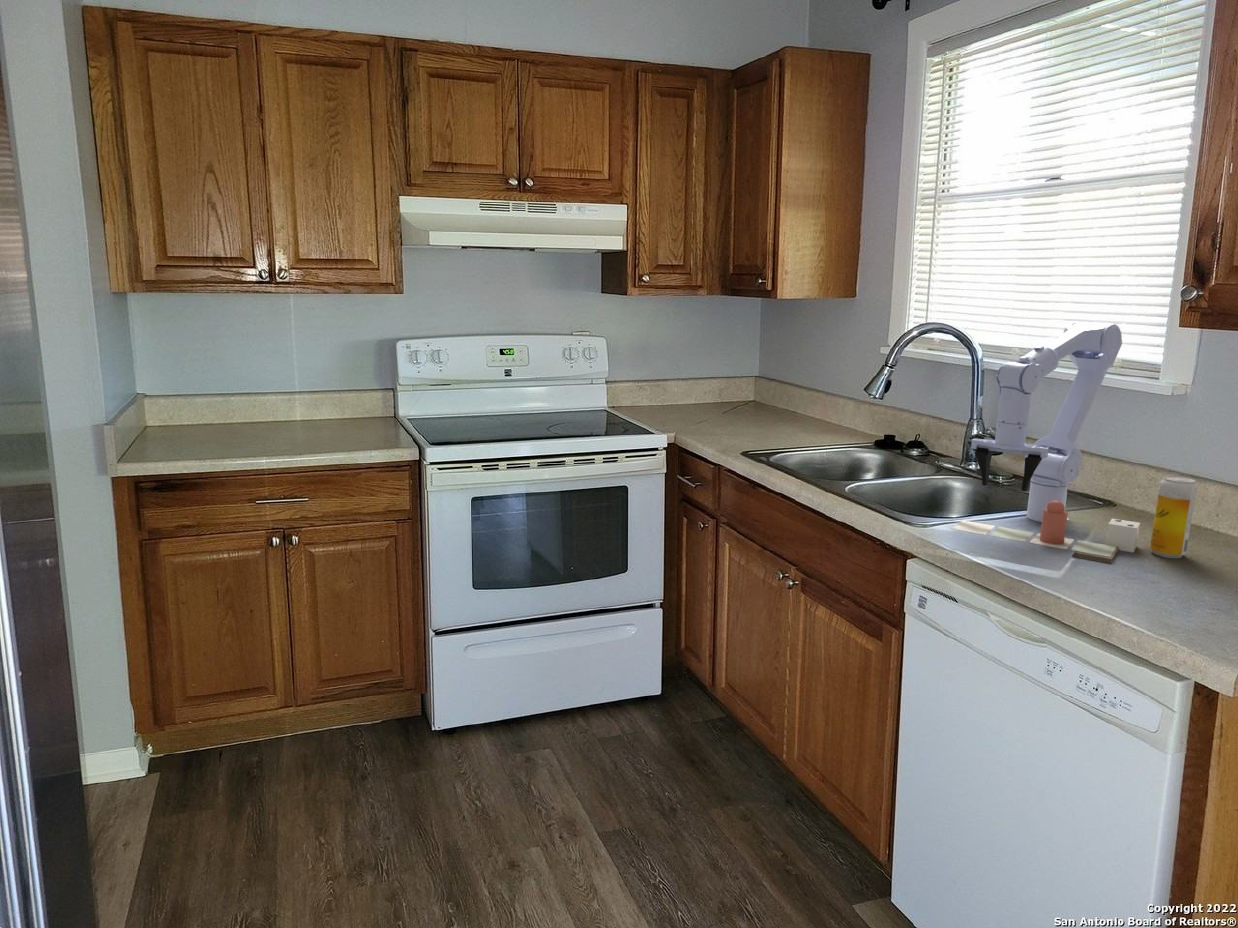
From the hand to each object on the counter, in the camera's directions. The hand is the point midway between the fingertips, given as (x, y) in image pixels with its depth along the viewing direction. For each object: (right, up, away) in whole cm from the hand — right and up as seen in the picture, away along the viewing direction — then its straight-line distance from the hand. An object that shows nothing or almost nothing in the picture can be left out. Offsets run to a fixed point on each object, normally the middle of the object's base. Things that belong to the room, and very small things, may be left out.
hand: (1004, 487), depth 192 cm
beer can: (+27, -13, -11) cm, 32 cm away
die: (+20, -12, -7) cm, 24 cm away
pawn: (+6, -10, -8) cm, 14 cm away
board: (+3, -11, -5) cm, 12 cm away
